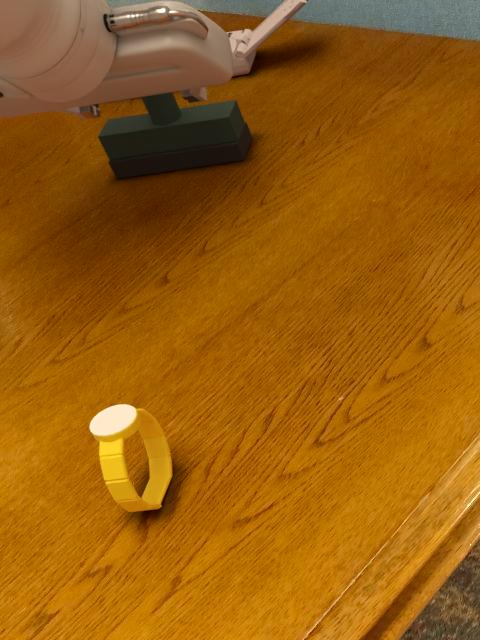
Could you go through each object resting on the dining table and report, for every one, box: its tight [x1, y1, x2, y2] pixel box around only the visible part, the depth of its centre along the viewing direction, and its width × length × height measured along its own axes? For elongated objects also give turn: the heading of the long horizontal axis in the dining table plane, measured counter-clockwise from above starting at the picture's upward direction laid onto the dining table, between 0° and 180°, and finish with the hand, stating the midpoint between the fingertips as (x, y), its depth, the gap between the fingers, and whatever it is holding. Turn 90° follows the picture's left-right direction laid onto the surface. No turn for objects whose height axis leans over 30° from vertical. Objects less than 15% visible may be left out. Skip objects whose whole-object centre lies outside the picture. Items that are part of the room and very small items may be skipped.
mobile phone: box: [225, 0, 309, 77], centre depth 100 cm, size 6×6×25 cm
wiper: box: [97, 92, 253, 180], centre depth 86 cm, size 12×4×12 cm, turn 90°
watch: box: [89, 403, 173, 513], centre depth 59 cm, size 6×3×6 cm, turn 0°
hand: (144, 101), depth 83 cm, fingers open, 8 cm apart
